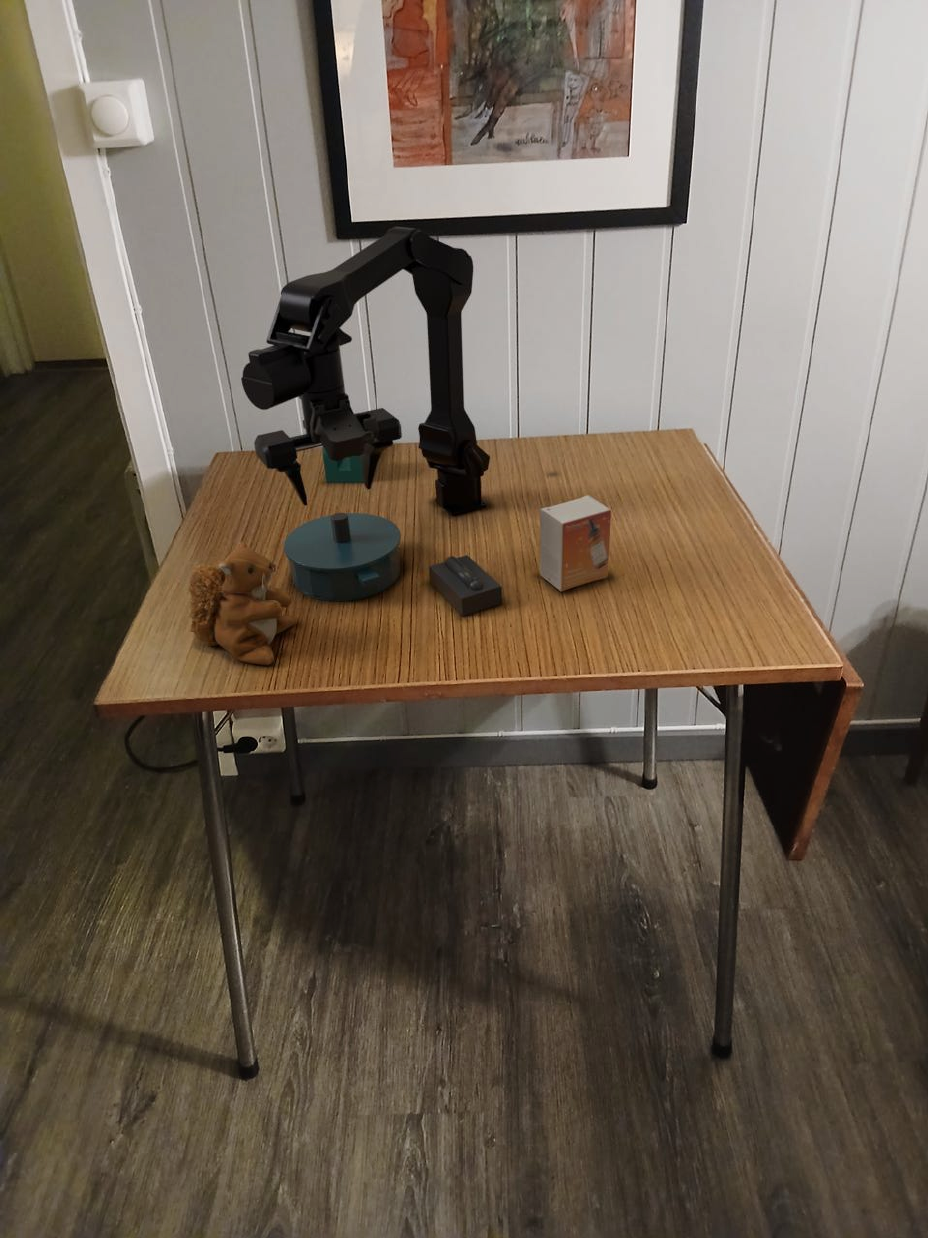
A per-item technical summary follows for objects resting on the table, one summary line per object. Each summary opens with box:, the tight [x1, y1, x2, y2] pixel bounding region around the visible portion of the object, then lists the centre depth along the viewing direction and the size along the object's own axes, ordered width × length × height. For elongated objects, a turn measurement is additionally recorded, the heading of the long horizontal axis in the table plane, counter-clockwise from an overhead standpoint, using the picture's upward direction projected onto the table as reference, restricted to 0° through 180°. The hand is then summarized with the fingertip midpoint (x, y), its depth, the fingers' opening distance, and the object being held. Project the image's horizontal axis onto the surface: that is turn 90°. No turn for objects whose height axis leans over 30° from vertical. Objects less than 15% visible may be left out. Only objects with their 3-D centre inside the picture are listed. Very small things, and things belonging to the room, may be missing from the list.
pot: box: [287, 546, 401, 602], centre depth 132 cm, size 15×21×5 cm
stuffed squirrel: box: [188, 541, 295, 666], centre depth 117 cm, size 10×14×13 cm
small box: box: [539, 494, 612, 592], centre depth 127 cm, size 8×6×10 cm
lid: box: [283, 512, 402, 571], centre depth 130 cm, size 16×16×5 cm
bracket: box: [321, 446, 364, 483], centre depth 165 cm, size 18×7×8 cm, turn 174°
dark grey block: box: [428, 554, 503, 617], centre depth 126 cm, size 6×10×4 cm, turn 27°
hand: (336, 496), depth 127 cm, fingers open, 9 cm apart
